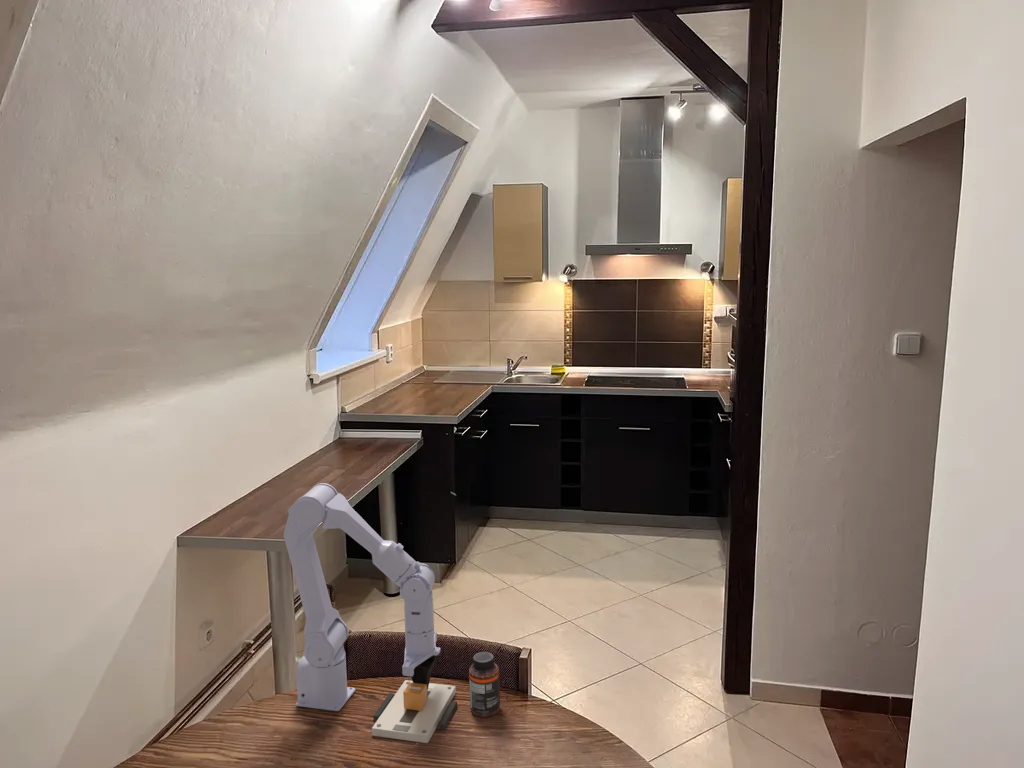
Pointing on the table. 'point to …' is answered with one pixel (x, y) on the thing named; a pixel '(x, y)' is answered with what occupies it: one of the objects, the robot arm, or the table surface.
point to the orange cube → (415, 696)
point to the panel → (414, 715)
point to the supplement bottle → (484, 685)
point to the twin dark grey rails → (442, 723)
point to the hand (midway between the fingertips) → (421, 690)
